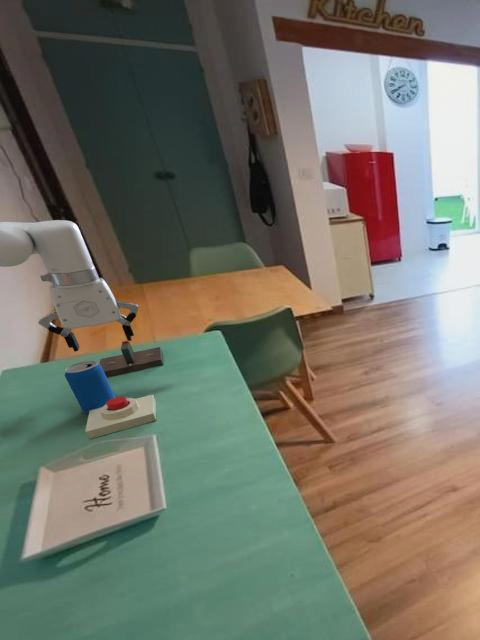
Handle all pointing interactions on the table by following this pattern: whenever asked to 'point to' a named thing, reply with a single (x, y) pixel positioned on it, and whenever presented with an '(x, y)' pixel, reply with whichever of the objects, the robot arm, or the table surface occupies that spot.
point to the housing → (121, 417)
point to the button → (117, 403)
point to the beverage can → (89, 385)
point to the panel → (141, 361)
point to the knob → (127, 351)
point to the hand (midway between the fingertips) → (104, 344)
